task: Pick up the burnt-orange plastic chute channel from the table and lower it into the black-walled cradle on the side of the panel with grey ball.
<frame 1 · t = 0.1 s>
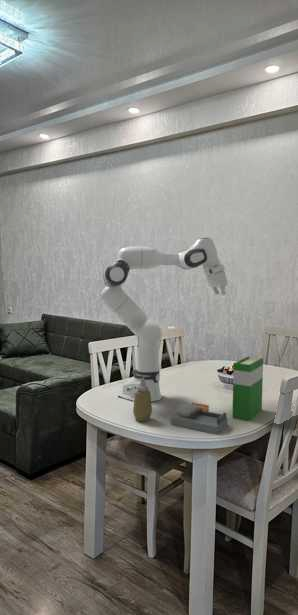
hand: (220, 294, 205), 52 cm above the table, tool tilted 20°, fingers open, 8 cm apart
panel with grey ball: (199, 424, 166), on the table
chute: (198, 413, 180), on the table
squeeze bottle: (142, 420, 171), on the table
hardback book: (247, 414, 180), on the table
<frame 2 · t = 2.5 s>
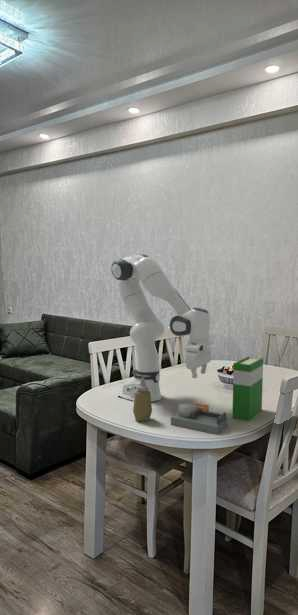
hand: (199, 375, 179), 17 cm above the table, tool pointing down, fingers open, 8 cm apart
nothing on the table moved.
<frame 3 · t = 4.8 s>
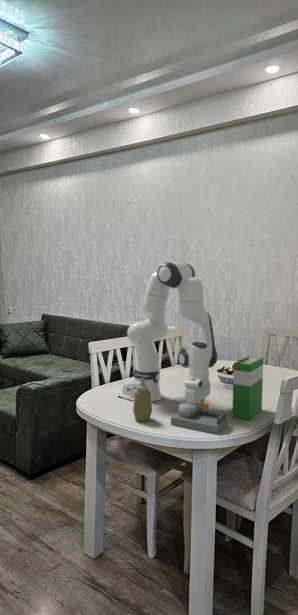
hand: (198, 409, 180), 2 cm above the table, tool pointing down, fingers closed on chute, 5 cm apart
chute: (198, 413, 180), on the table, touching gripper
everything else where it was.
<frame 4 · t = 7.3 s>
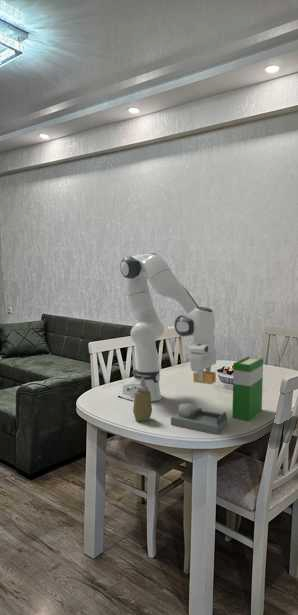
hand: (204, 378, 170), 18 cm above the table, tool pointing down, fingers closed on chute, 5 cm apart
chute: (204, 381, 170), point 16 cm above the table, touching gripper
everything else where it was.
when the fingers open (6 cm above the table, at t = 9.9 s): chute stays where it is, resting on panel with grey ball.
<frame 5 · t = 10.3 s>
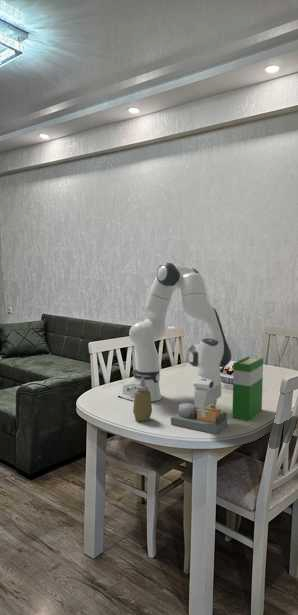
hand: (208, 413, 163), 6 cm above the table, tool pointing down, fingers open, 8 cm apart
chute: (208, 419, 163), point 3 cm above the table, touching panel with grey ball
everything else where it was.
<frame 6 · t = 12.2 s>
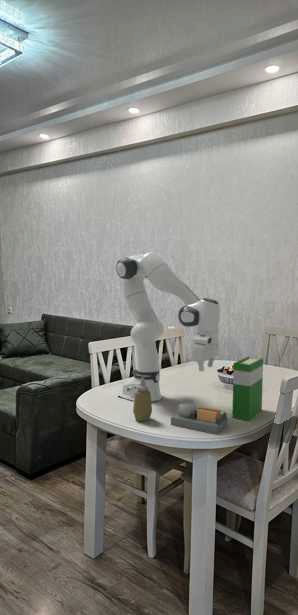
hand: (205, 368, 172), 22 cm above the table, tool pointing down, fingers open, 8 cm apart
nothing on the table moved.
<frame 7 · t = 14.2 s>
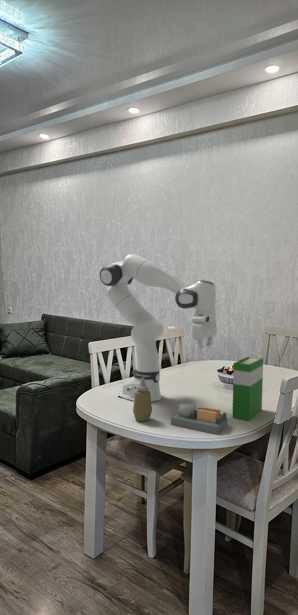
hand: (204, 347, 181), 29 cm above the table, tool pointing down, fingers open, 8 cm apart
nothing on the table moved.
at the end: chute 0.0 cm from the target spot on the panel with grey ball, point 3.0 cm above the panel with grey ball's base; chute tilted 0°; the gripper is holding nothing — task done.
